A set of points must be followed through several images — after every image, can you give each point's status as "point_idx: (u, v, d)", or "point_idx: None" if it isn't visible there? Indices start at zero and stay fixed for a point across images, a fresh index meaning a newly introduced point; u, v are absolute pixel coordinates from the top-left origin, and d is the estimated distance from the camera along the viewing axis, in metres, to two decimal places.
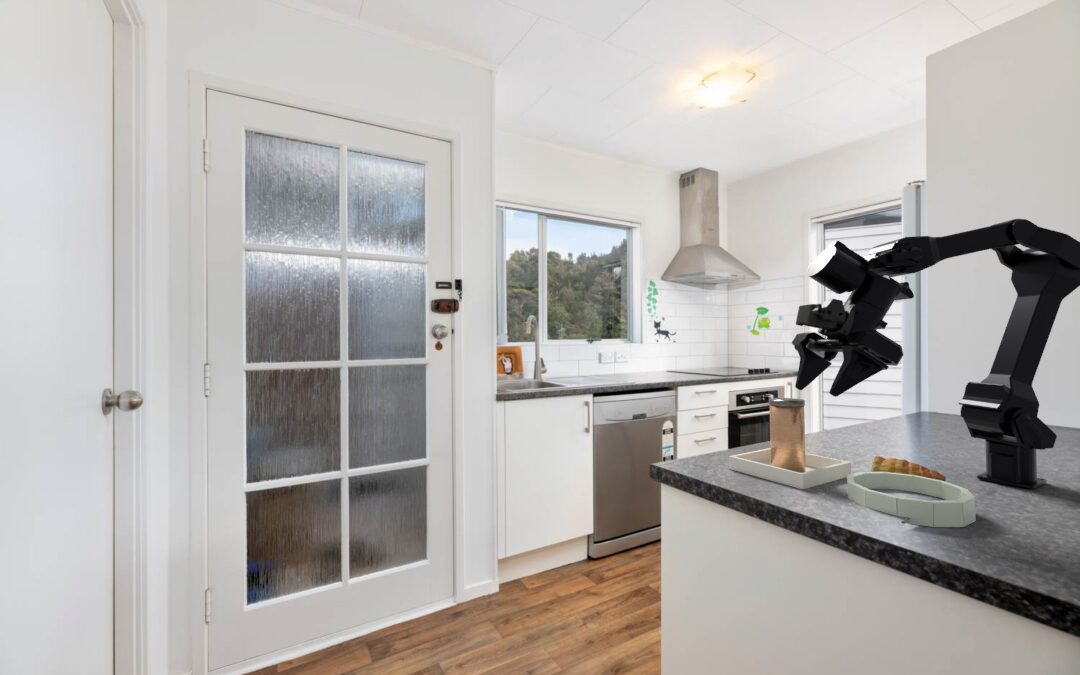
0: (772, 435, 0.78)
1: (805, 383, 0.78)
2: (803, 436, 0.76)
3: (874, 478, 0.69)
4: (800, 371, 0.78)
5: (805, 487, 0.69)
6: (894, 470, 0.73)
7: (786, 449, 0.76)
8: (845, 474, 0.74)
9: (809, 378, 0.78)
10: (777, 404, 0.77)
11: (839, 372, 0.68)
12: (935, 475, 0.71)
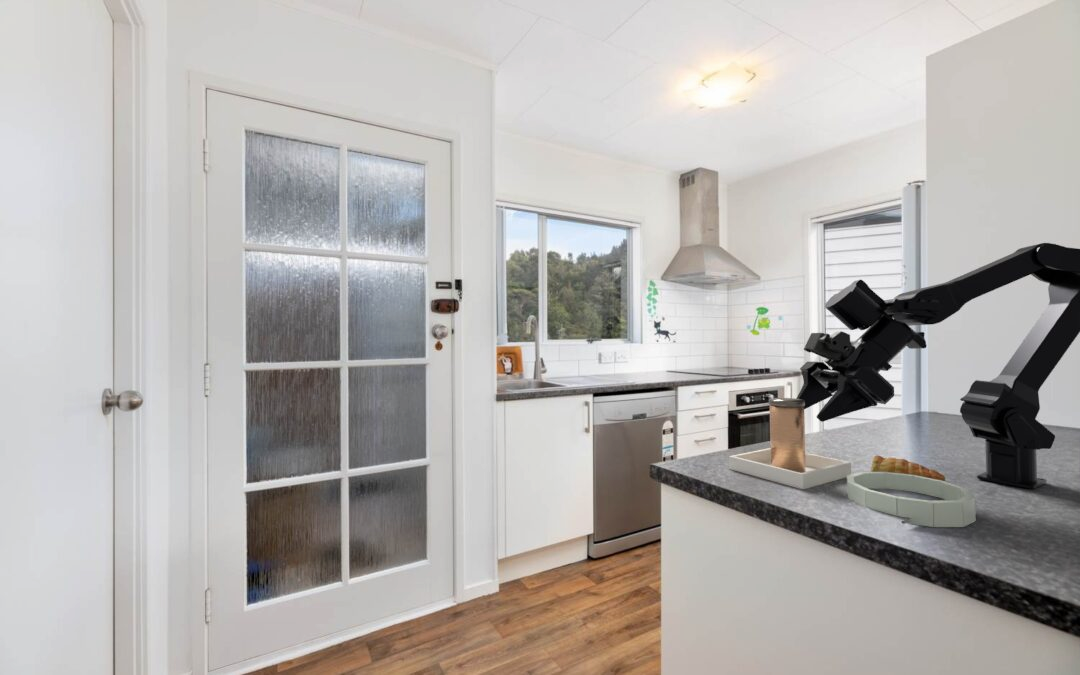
0: (772, 435, 0.78)
1: None
2: (803, 436, 0.76)
3: (874, 478, 0.69)
4: (799, 395, 0.82)
5: (805, 487, 0.69)
6: (893, 469, 0.73)
7: (786, 449, 0.76)
8: (845, 474, 0.74)
9: (807, 403, 0.82)
10: (777, 404, 0.77)
11: (830, 400, 0.72)
12: (935, 475, 0.71)
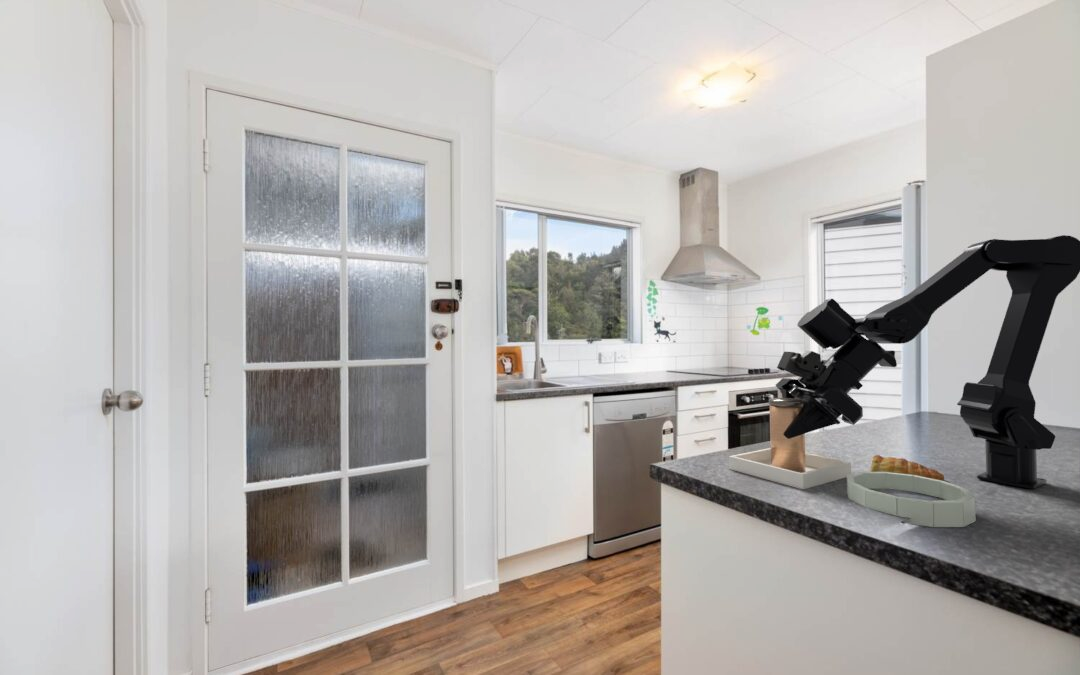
0: (772, 435, 0.78)
1: None
2: (803, 436, 0.76)
3: (874, 478, 0.69)
4: None
5: (805, 487, 0.69)
6: (893, 469, 0.73)
7: (786, 449, 0.76)
8: (845, 474, 0.74)
9: None
10: (777, 404, 0.77)
11: (796, 417, 0.75)
12: (934, 474, 0.71)
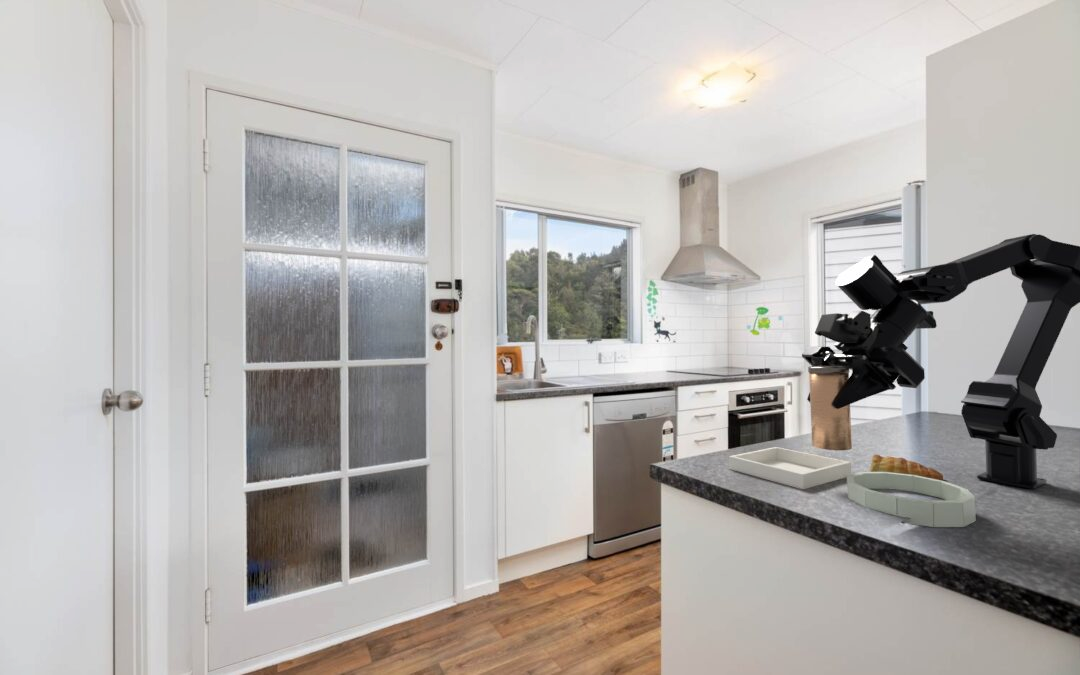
0: (815, 406, 0.70)
1: None
2: (849, 405, 0.69)
3: (874, 478, 0.69)
4: None
5: (805, 487, 0.69)
6: (893, 468, 0.74)
7: (834, 420, 0.68)
8: (845, 474, 0.74)
9: None
10: (822, 371, 0.69)
11: (845, 385, 0.68)
12: (933, 473, 0.72)
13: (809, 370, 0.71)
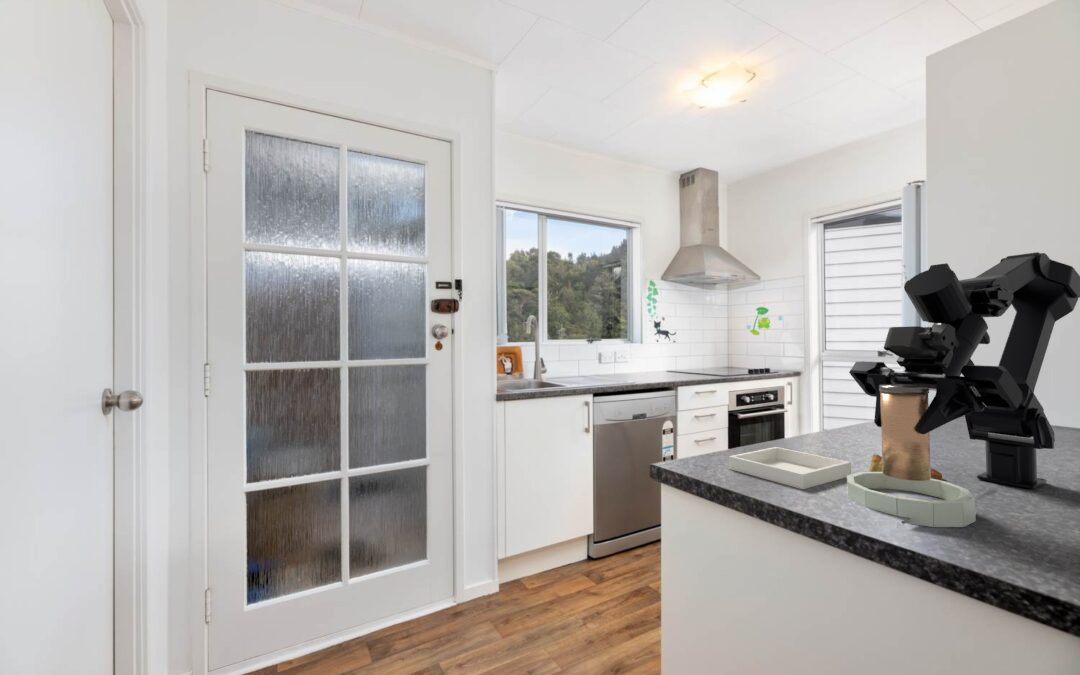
0: (894, 431, 0.62)
1: None
2: None
3: (874, 478, 0.69)
4: None
5: (805, 487, 0.69)
6: None
7: (918, 447, 0.61)
8: (845, 474, 0.74)
9: None
10: (905, 392, 0.61)
11: (931, 407, 0.60)
12: (933, 472, 0.72)
13: (884, 390, 0.63)
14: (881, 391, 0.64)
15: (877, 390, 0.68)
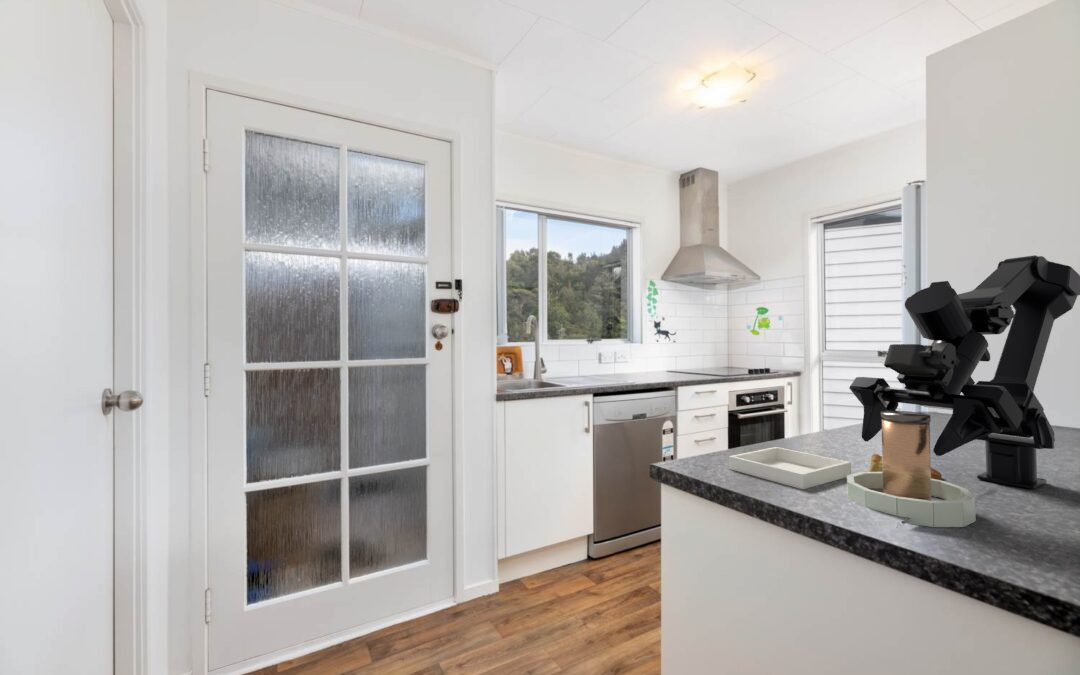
0: (895, 459, 0.62)
1: (872, 434, 0.67)
2: None
3: (874, 478, 0.69)
4: (868, 419, 0.68)
5: (805, 487, 0.69)
6: None
7: (919, 476, 0.60)
8: (845, 474, 0.74)
9: (875, 428, 0.68)
10: (907, 420, 0.61)
11: (947, 428, 0.58)
12: (932, 472, 0.72)
13: (886, 417, 0.63)
14: (882, 418, 0.64)
15: (865, 405, 0.69)
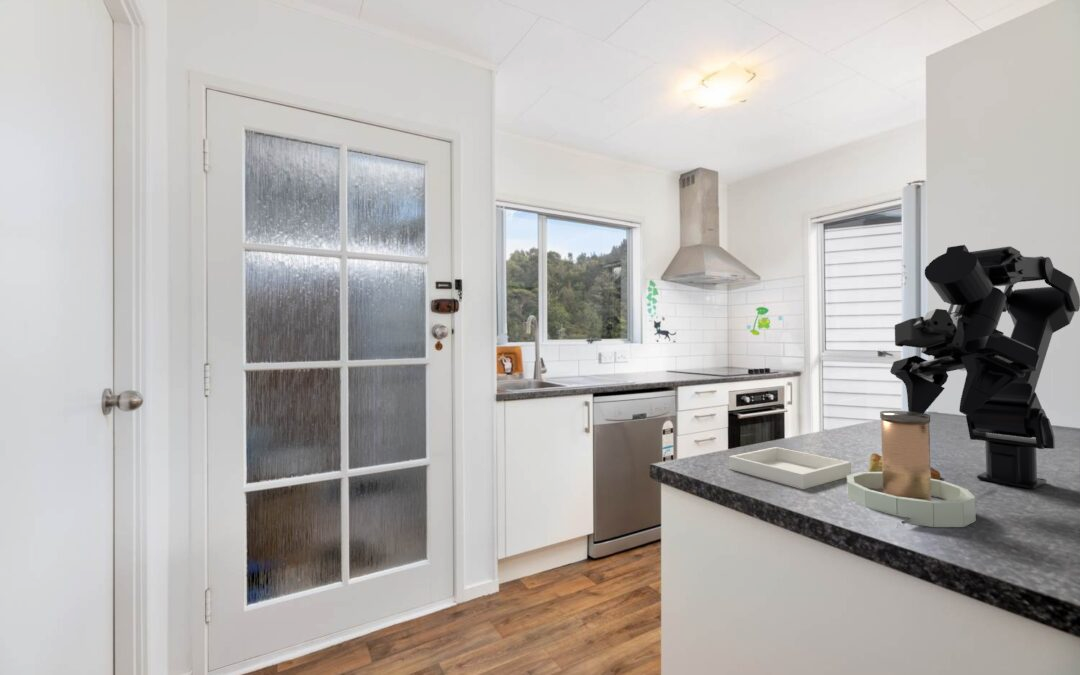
0: (895, 459, 0.62)
1: (920, 411, 0.69)
2: None
3: (874, 478, 0.69)
4: (910, 398, 0.70)
5: (805, 487, 0.69)
6: None
7: (918, 476, 0.60)
8: (845, 474, 0.74)
9: (923, 405, 0.69)
10: (906, 420, 0.61)
11: (965, 386, 0.61)
12: (931, 471, 0.73)
13: (885, 417, 0.63)
14: (882, 418, 0.64)
15: (906, 385, 0.72)
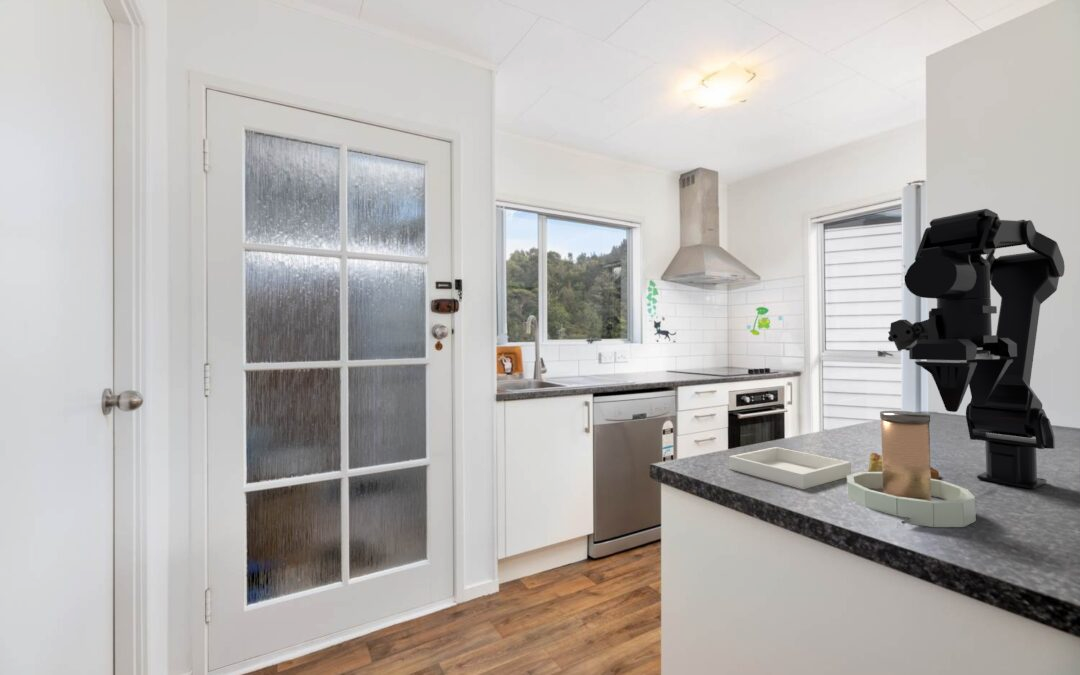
0: (895, 459, 0.62)
1: (982, 396, 0.67)
2: None
3: (874, 478, 0.69)
4: None
5: (805, 487, 0.69)
6: None
7: (918, 476, 0.60)
8: (845, 474, 0.74)
9: (985, 388, 0.67)
10: (906, 420, 0.61)
11: None
12: (930, 470, 0.73)
13: (885, 417, 0.63)
14: (882, 418, 0.64)
15: None
